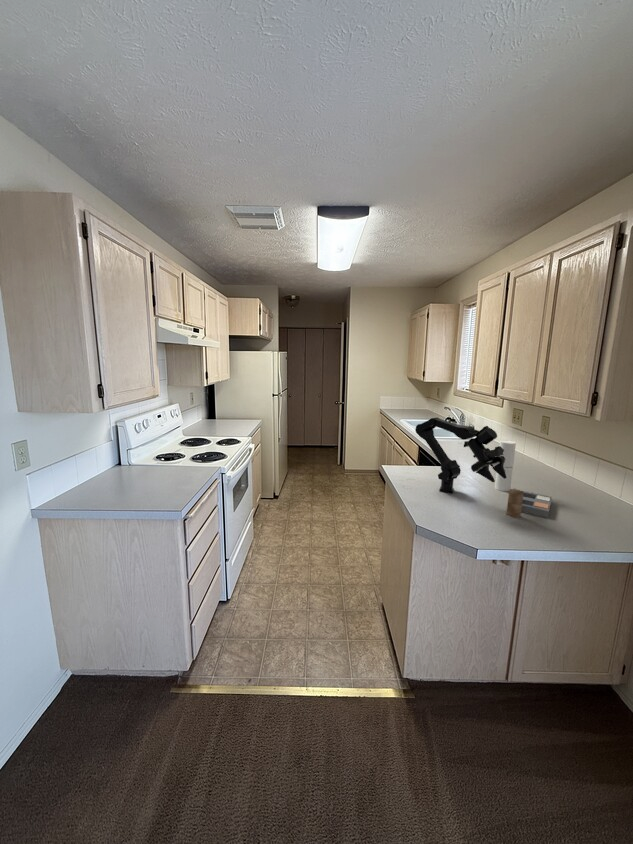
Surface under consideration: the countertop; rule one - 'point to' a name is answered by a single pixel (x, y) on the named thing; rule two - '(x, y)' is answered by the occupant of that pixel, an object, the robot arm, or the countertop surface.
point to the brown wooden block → (515, 503)
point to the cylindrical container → (506, 465)
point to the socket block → (536, 504)
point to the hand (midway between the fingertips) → (499, 480)
